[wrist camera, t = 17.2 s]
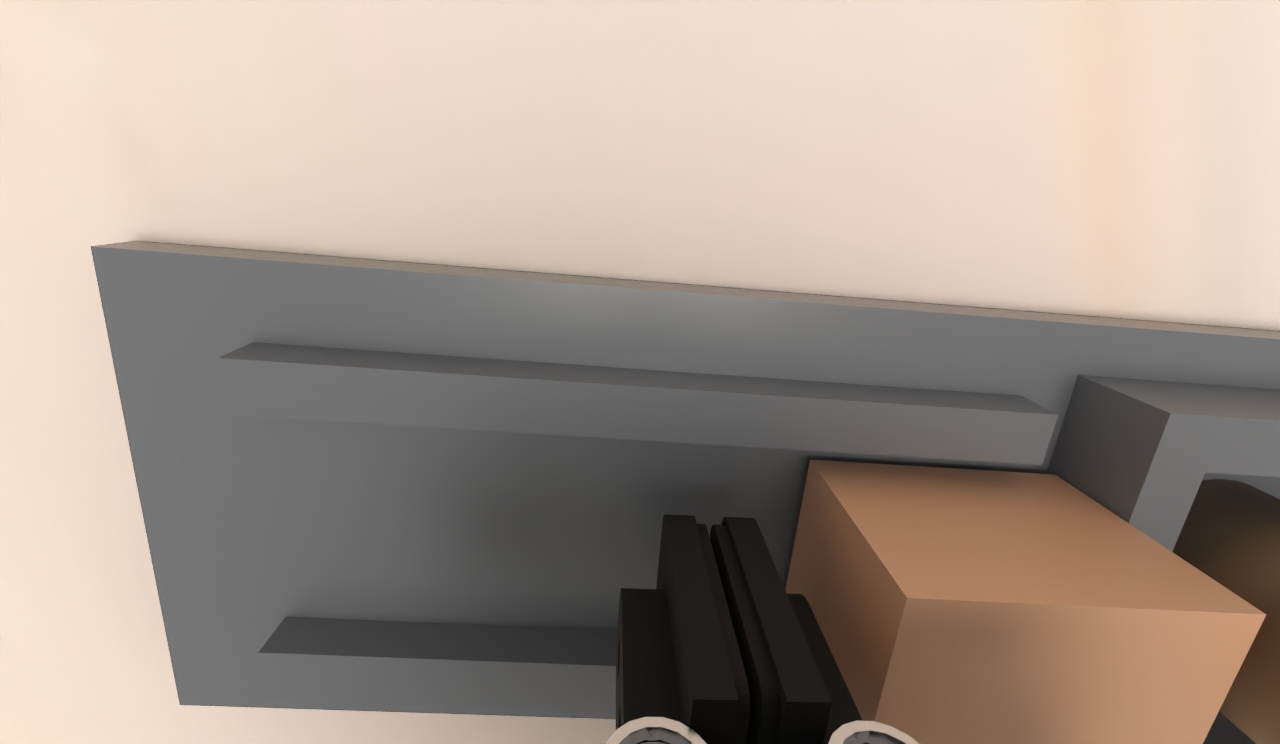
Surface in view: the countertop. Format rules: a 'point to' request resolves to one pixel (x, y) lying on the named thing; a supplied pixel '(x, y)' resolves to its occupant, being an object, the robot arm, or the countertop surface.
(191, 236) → the countertop surface
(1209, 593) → the cardboard brown cuboid
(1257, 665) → the brown round pin
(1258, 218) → the countertop surface
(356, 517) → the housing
